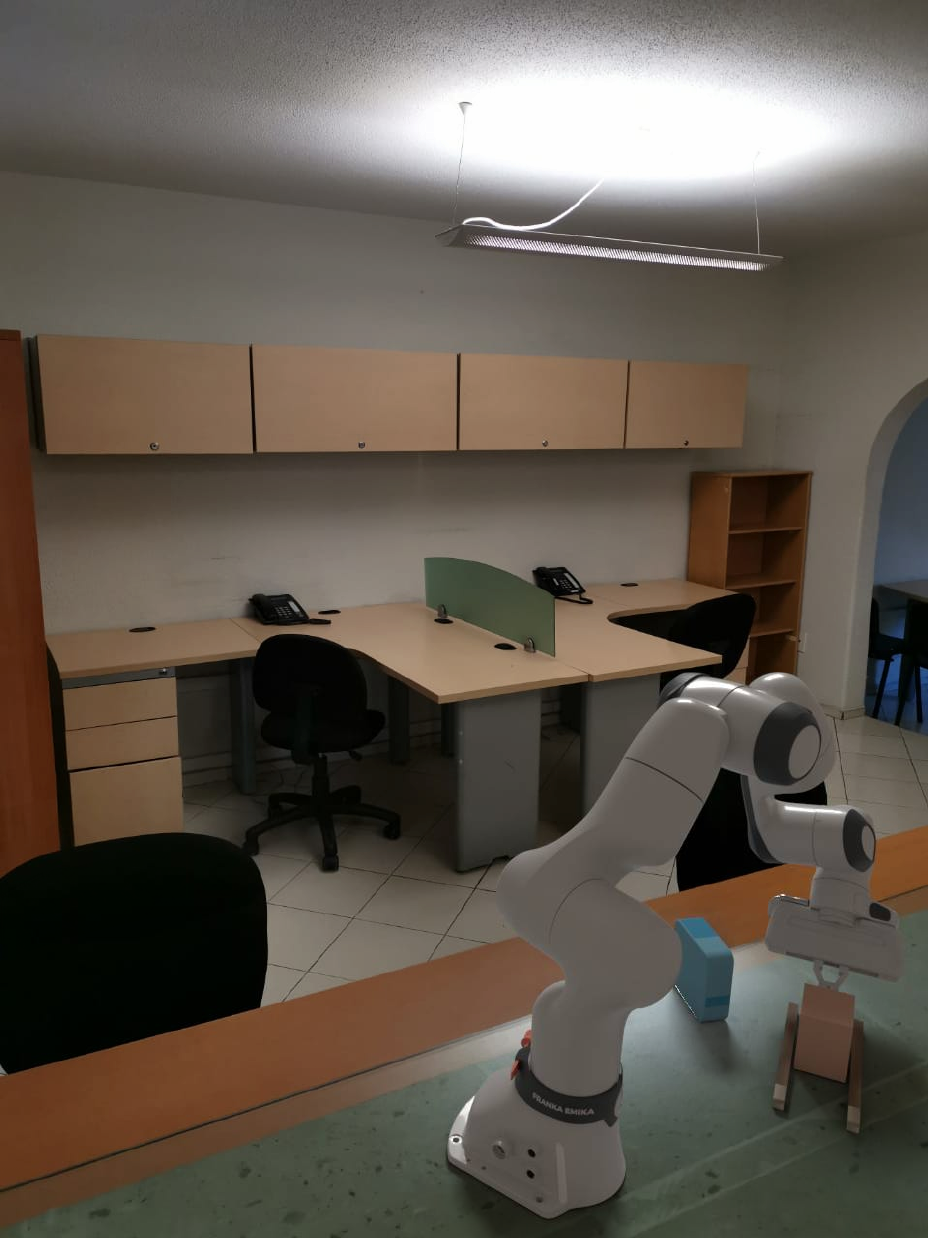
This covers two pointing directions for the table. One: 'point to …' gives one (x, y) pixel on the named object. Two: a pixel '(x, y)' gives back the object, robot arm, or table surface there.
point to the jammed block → (825, 1032)
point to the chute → (854, 1074)
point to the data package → (704, 969)
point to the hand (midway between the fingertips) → (827, 995)
